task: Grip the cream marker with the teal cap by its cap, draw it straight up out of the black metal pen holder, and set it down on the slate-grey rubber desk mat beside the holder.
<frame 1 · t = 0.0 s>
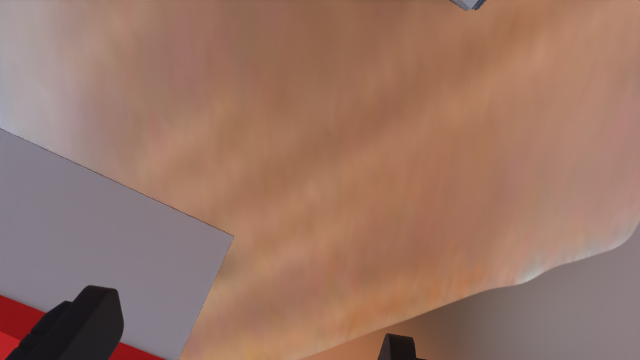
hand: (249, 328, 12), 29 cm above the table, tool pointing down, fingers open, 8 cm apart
red-lidded white box: (83, 232, 50), on the table
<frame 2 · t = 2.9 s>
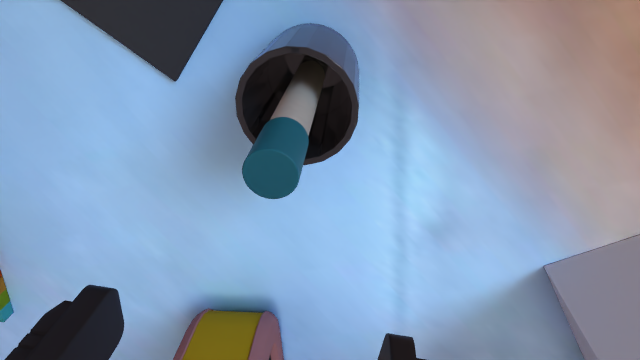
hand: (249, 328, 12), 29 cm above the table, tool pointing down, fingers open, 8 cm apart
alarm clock: (247, 335, 58), on the table
pen holder: (311, 73, 37), on the table
marker: (310, 75, 36), point 1 cm above the table, touching pen holder
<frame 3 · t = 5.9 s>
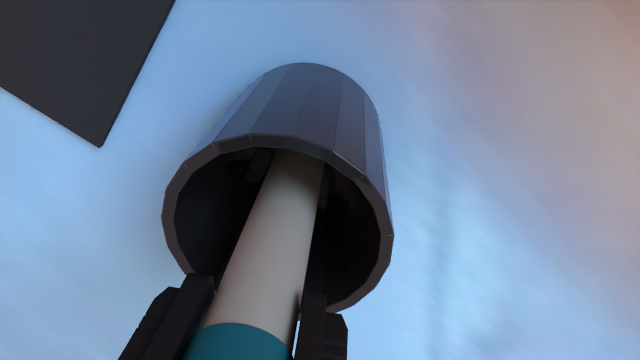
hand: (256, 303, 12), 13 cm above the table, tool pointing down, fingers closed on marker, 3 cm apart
pen holder: (306, 137, 24), on the table
marker: (305, 141, 23), point 1 cm above the table, touching gripper, pen holder
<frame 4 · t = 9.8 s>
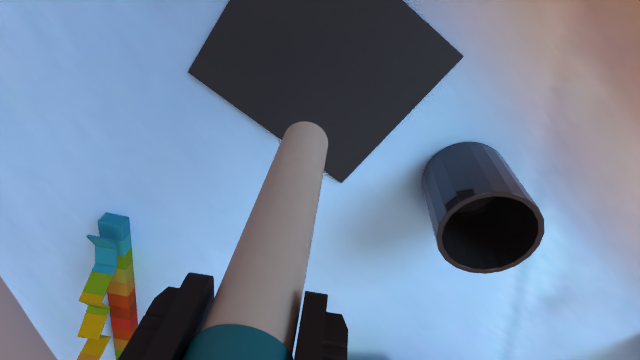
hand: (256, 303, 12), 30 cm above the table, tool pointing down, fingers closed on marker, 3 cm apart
desk mat: (320, 63, 38), on the table
pen holder: (463, 179, 43), on the table
marker: (305, 142, 23), point 17 cm above the table, touching gripper
chart: (125, 295, 58), on the table
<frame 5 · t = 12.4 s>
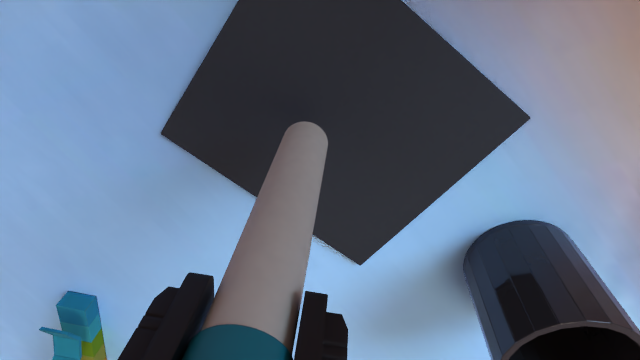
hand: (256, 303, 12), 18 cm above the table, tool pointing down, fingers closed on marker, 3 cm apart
desk mat: (335, 124, 29), on the table
pen holder: (517, 262, 33), on the table
marker: (305, 142, 23), point 6 cm above the table, touching gripper
when the fingers open (13 cm above the table, at t = 14.0 s): marker stays where it is, resting on desk mat.
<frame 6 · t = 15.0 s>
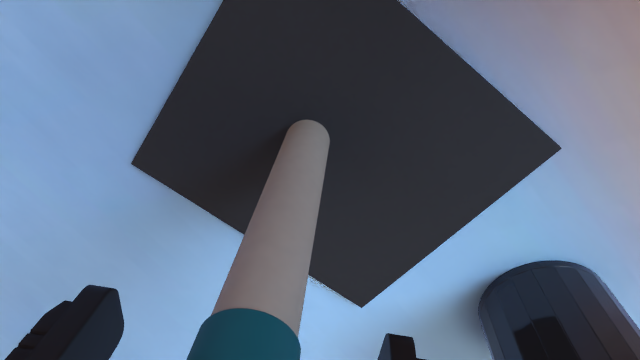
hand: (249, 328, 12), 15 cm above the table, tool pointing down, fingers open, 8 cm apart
desk mat: (332, 153, 25), on the table
pen holder: (540, 305, 29), on the table
marker: (307, 140, 24), resting on desk mat
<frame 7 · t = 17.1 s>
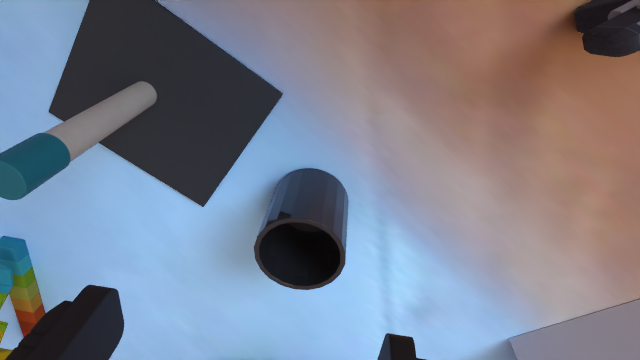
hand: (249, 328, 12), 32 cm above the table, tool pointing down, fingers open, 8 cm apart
desk mat: (162, 102, 42), on the table
pen holder: (310, 201, 47), on the table
marker: (144, 93, 42), resting on desk mat
chart: (36, 311, 62), on the table
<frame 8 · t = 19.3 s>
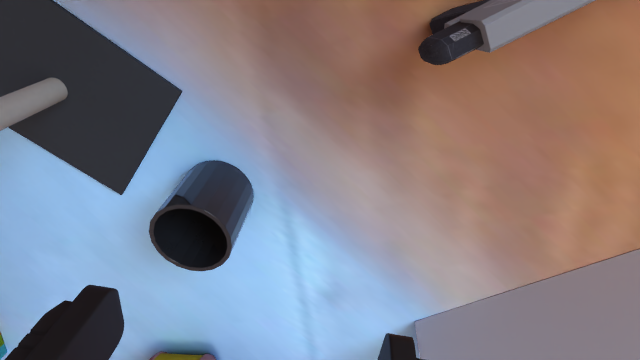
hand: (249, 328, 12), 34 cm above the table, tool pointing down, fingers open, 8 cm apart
desk mat: (73, 97, 46), on the table
pen holder: (219, 191, 51), on the table
marker: (56, 89, 45), resting on desk mat
red-lidded white box: (553, 327, 58), on the table
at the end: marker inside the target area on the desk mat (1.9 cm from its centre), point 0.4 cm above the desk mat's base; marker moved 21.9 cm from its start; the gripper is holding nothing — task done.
